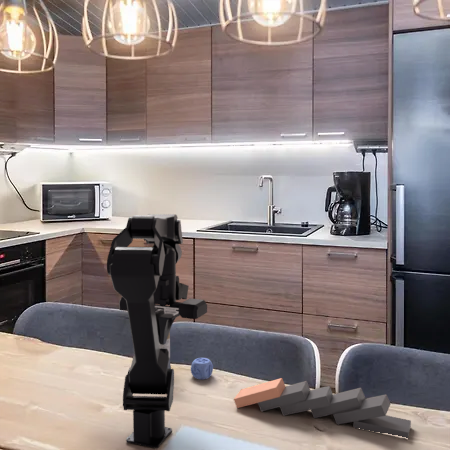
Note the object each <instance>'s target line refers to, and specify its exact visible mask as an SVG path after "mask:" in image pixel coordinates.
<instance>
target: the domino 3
mask: <svg viewBox="0 0 450 450" xmlns="http://www.w3.org/2000/svg"><path fill="white" fill-rule="evenodd" d="M332 397H333V391H332V388H331V386H330V385H328V386H323V387H318V388H314V389H310V391H309V394H308V396H307V398H306V400H304V401H300V402H296V403H292V404H288V405H285V406H281V407H279V408H280V410H281V413H282V416H287V415H292V414H298V413H301V412H306V411H311V410H312V409H316V408H321V407H326V406H330V403H331V400H332Z"/></svg>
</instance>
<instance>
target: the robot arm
mask: <svg viewBox="0 0 450 450" xmlns="http://www.w3.org/2000/svg"><path fill="white" fill-rule="evenodd" d="M135 239H136V240H143V241H145V242H146V244H147V245H152V246H130V245H131V244H132V243H133V241H134V240H135ZM183 241H184V240H183V232H182V222H181V219H178V215H177V214H174V213H173V214H171V213H168V214H167V213H166V214H165V213H160V214H159V213H152V214H151V213H148V214H147V215H132V216H130V217H128V219H127V223H126V225H125V228H123V229H122V230H121V231H120V232H119V233H118V234H117V235H116V236H115V237H114V238H113V239H112V241H111V244H110V247H109V251H108V255H107V259H106V260H107V261H106V272H107V275H108V276H110V280H111V284H112V287H113V290H114V291H115V292H116V293H117V294H119V295H120V296H121V297H120V299H119V302H118V309H119V311H123V312H127V317H128V323H129V329H130V335H131V341H132V348H133V353H134V355H133V357H132V361H131V364H130V367H129V368H128V371H127V374H126V375H125V376H124V384H123V389H122V390H123V391H122V407H123V410H124V411H127V410H128V411H129V410H130V411H132V419H133V421H132V426H133V427H132V428H133V429H132V430H133V431H132V432H131V434H129V435H128V436H127V437H126V438H125V442H126V443H129V444H132V445H133V444H134V445H138V446H144V447H149V448H153V449H157V448H159V447H161V445H162V444H163V442H164V441H165V440H166V439H167V437H169V435H170V434H171V433H172V432H173V428H171V427H167V426H166V424H165V423H166V415H165V414H166V413H165V412H170V411H171V407H172V404H173V401H174V384H175V370H174V368H172V365H171V360H170V359H171V358H170V359H169V351H168V350H167V349H160V347H159V343H160V344H161V345H164V344H165V343H166V341H167V338H168V335H169V332H171V329H172V326H173V324H174V322H175V320H176V319H177V318H178V317H181V318H182V319H189V320H197V319H199V318H200V317H203V316H204V315H205V314H207V313H208V304H207V303H206V301H205V299H201V298H200V299H197V298H188V293H189V285H188V284H186V283H183V282H180V276H179V275H177V268H176V267H177V266H176V265H177V263H178V262H179V261H180V260H181V258H182V253H183V251H182V248H181V246H180V245H182V244H183ZM181 299H182V300H184V301H182V302H181V301H180V300H181ZM179 301H180V302H179ZM133 394H134V395H133ZM152 395H156V396H152ZM157 395H158V396H157ZM159 395H161V396H159ZM162 395H166V396H162Z"/></svg>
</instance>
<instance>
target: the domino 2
mask: <svg viewBox="0 0 450 450" xmlns="http://www.w3.org/2000/svg"><path fill="white" fill-rule="evenodd" d="M310 390H311V389H310V386H309V383H308V381H307V380H305V381H300V382H297V383H293V384H290V385H285V389H284V390H283V392H282V394H281V396H280V397H277V398H273V399H269V400H266V401H262V402H258V403H257V405H258V407H259V409H260V412H264V411H269V410H272V409H273V410H274V409H277V408H280V407H281V406H285V405H288V404H292V403H296V402H300V401H304V400H306V398H307V396H308V394H309V391H310Z"/></svg>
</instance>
